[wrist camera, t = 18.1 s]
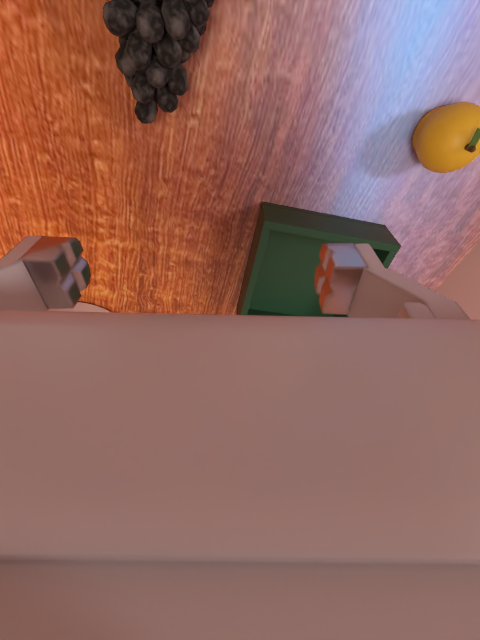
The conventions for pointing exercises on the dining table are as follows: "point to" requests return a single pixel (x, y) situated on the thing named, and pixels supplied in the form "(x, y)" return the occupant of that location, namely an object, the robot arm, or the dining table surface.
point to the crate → (299, 258)
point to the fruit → (156, 48)
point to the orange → (448, 137)
